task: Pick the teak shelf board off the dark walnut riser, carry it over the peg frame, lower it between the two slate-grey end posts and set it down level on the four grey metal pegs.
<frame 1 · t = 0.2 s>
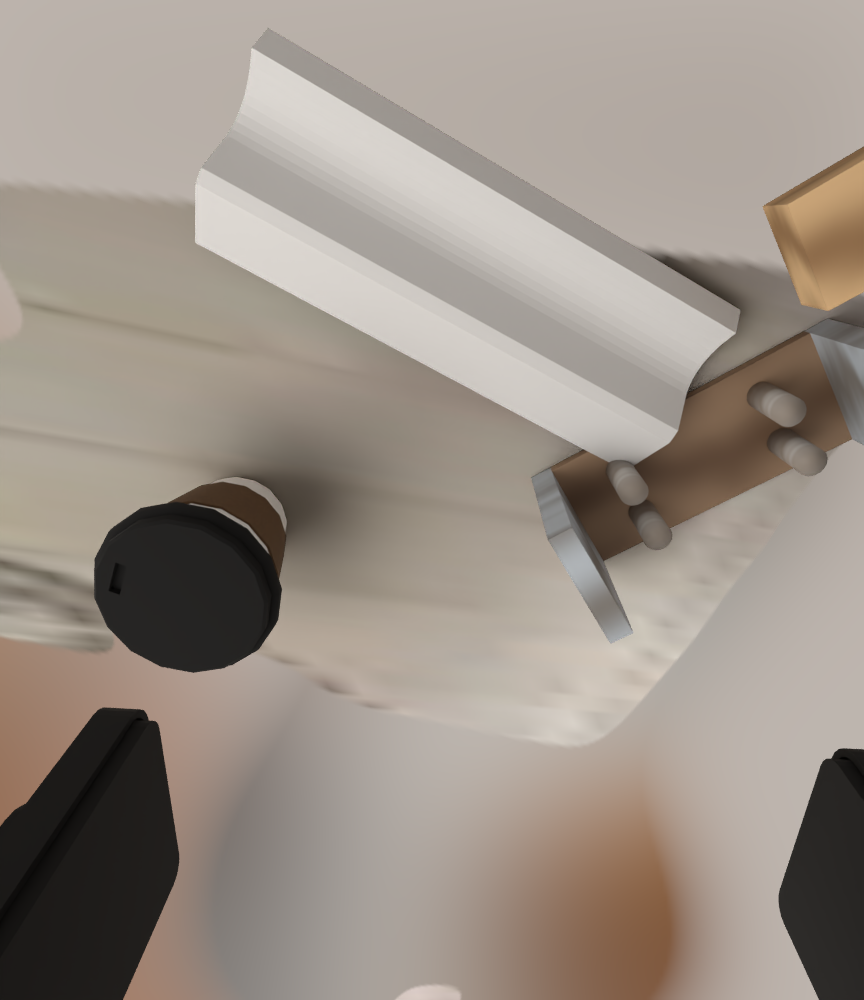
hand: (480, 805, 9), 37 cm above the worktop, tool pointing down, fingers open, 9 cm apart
crown molding: (467, 275, 41), on the worktop, touching peg frame
coffee cup: (244, 514, 49), on the worktop
peg frame: (695, 451, 45), on the worktop
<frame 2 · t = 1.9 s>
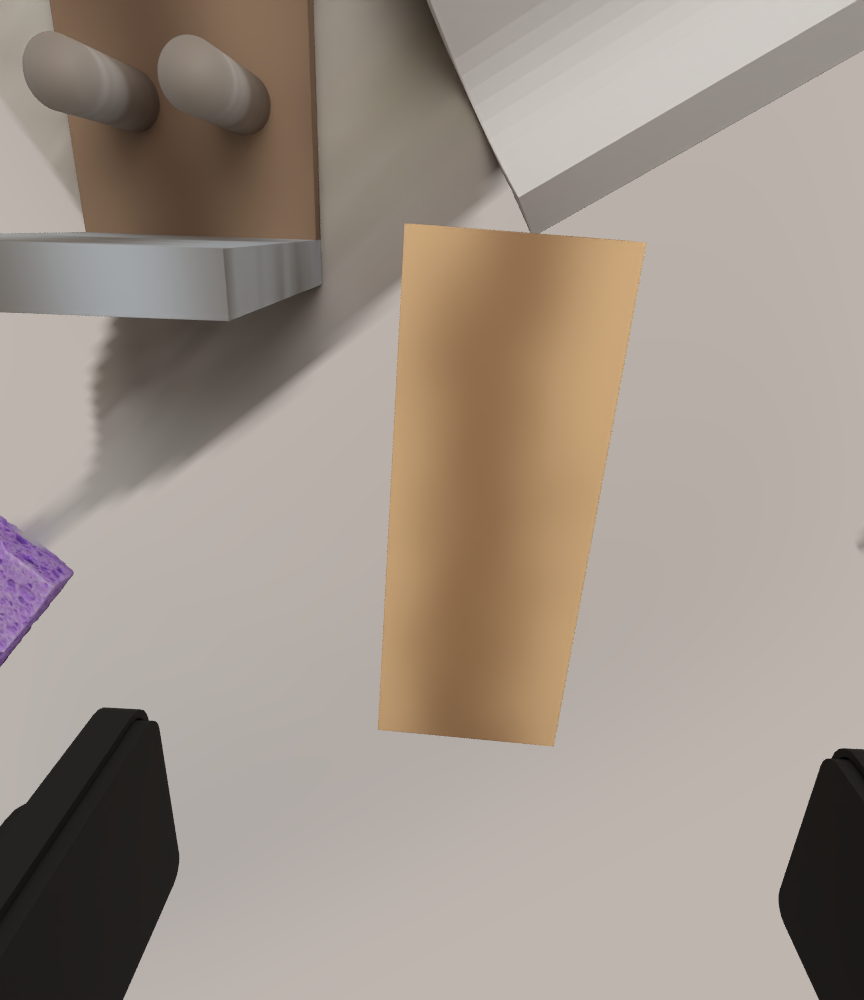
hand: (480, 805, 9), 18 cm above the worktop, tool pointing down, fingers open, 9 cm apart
shelf board: (488, 488, 22), point 4 cm above the worktop, touching riser
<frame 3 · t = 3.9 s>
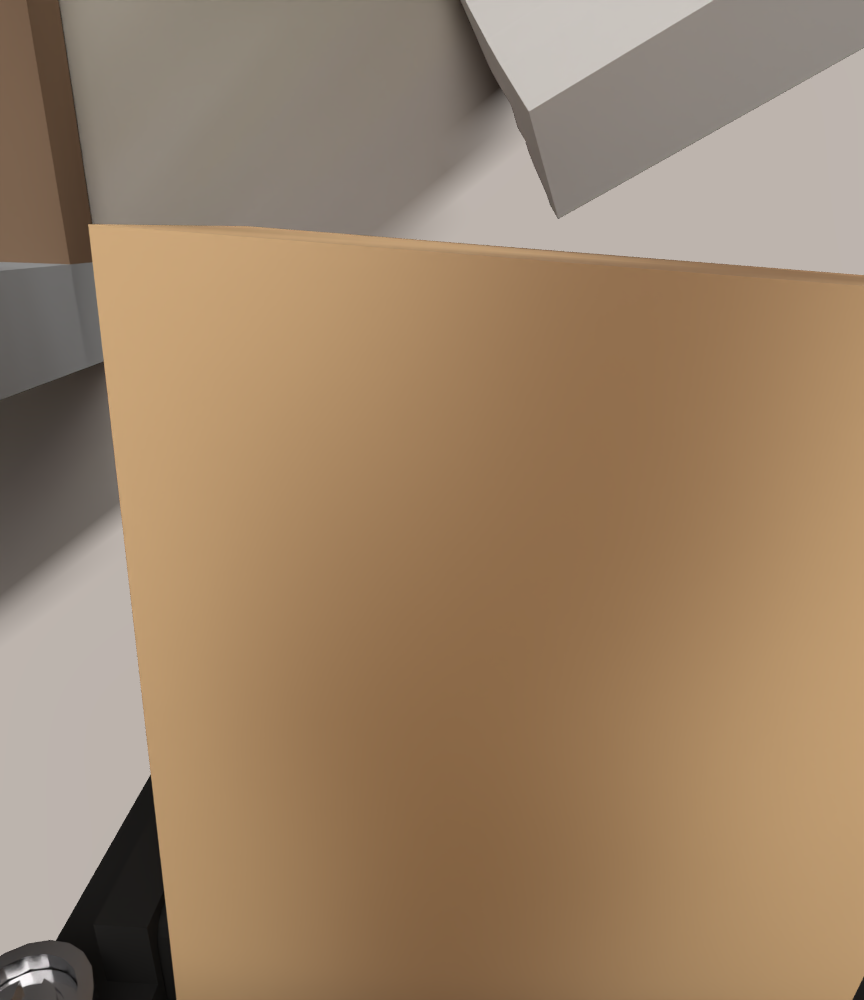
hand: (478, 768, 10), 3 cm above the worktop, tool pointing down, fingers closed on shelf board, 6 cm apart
shelf board: (476, 851, 9), point 4 cm above the worktop, touching gripper, riser
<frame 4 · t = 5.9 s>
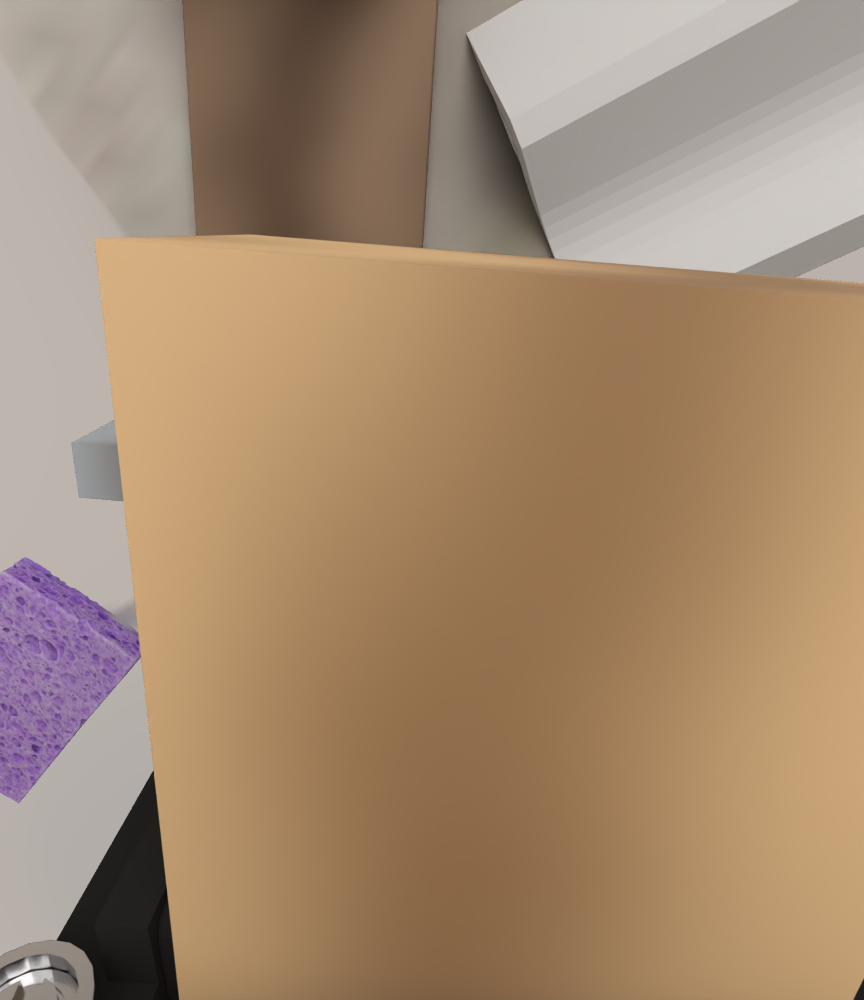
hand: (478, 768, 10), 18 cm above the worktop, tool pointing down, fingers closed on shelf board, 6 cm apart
sponges: (34, 673, 33), on the worktop
shelf board: (477, 854, 9), point 19 cm above the worktop, touching gripper
peg frame: (313, 112, 23), on the worktop
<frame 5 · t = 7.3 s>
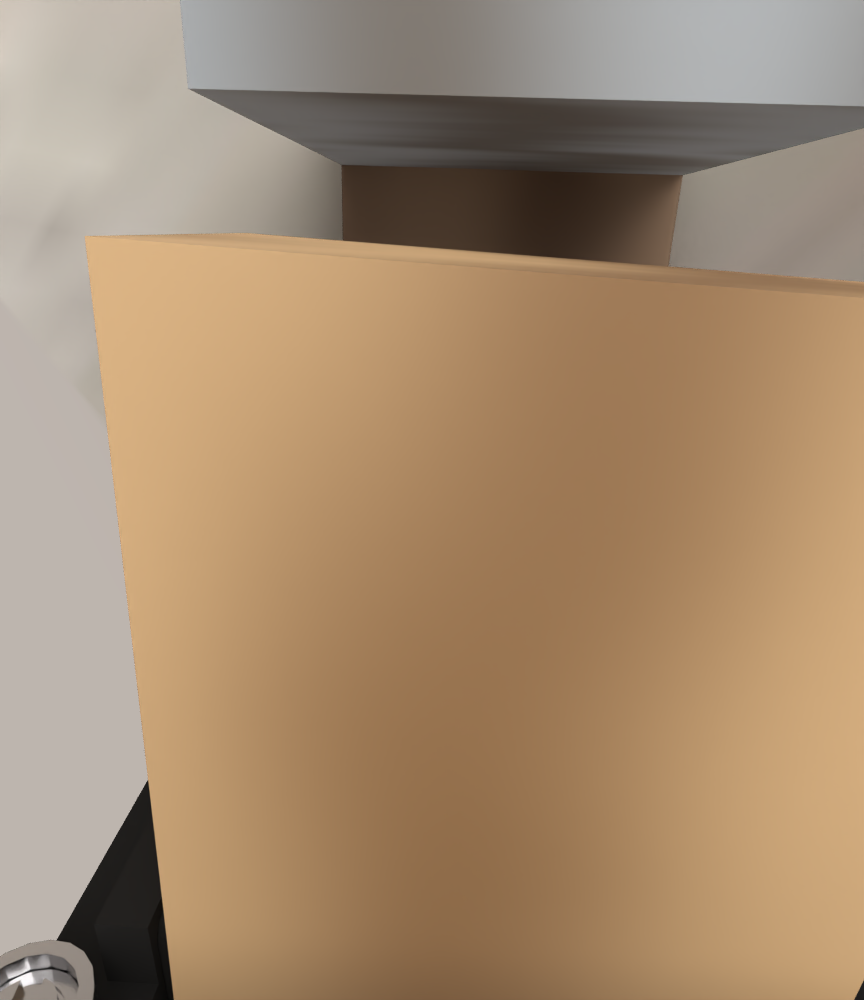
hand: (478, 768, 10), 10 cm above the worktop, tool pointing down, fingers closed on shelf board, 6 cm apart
shelf board: (475, 856, 9), point 11 cm above the worktop, touching gripper
peg frame: (485, 508, 20), on the worktop
when the fingers open (5 cm above the worktop, at t = 8.7 s): shelf board stays where it is, resting on peg frame.
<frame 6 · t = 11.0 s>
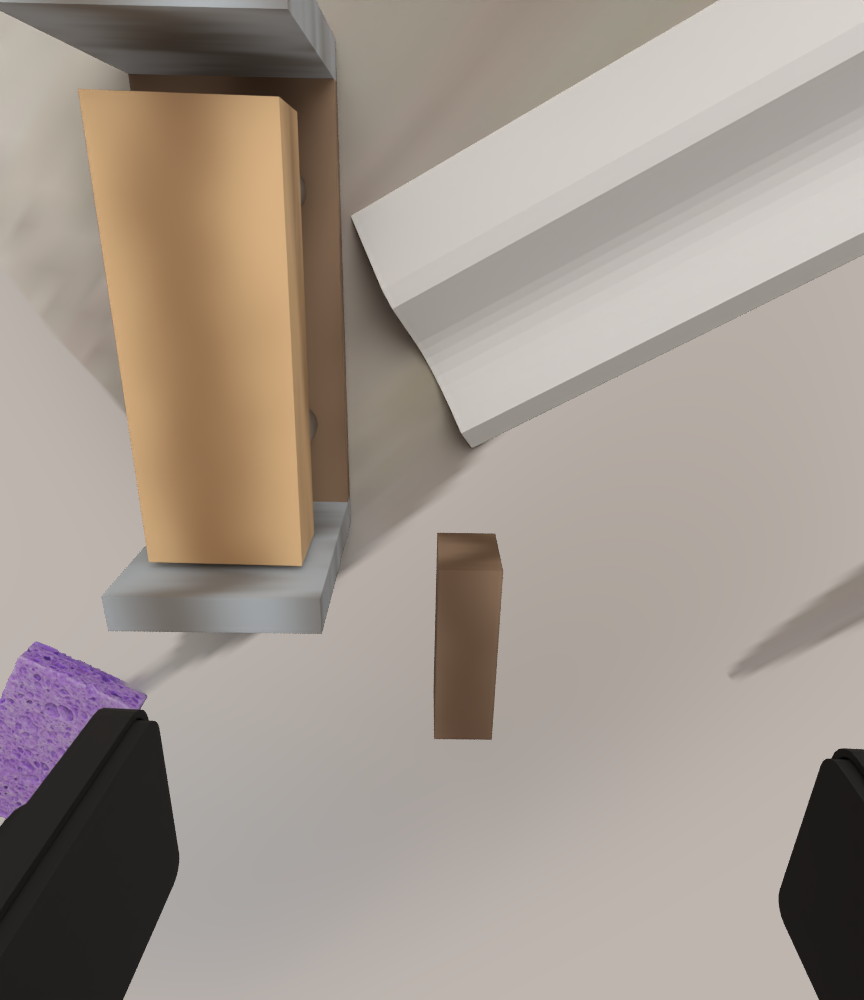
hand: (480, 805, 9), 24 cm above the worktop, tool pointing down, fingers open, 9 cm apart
sponges: (57, 733, 40), on the worktop
shelf board: (229, 345, 26), point 5 cm above the worktop, touching peg frame
crown molding: (732, 160, 29), on the worktop
riser: (462, 615, 36), on the worktop
peg frame: (255, 311, 30), on the worktop
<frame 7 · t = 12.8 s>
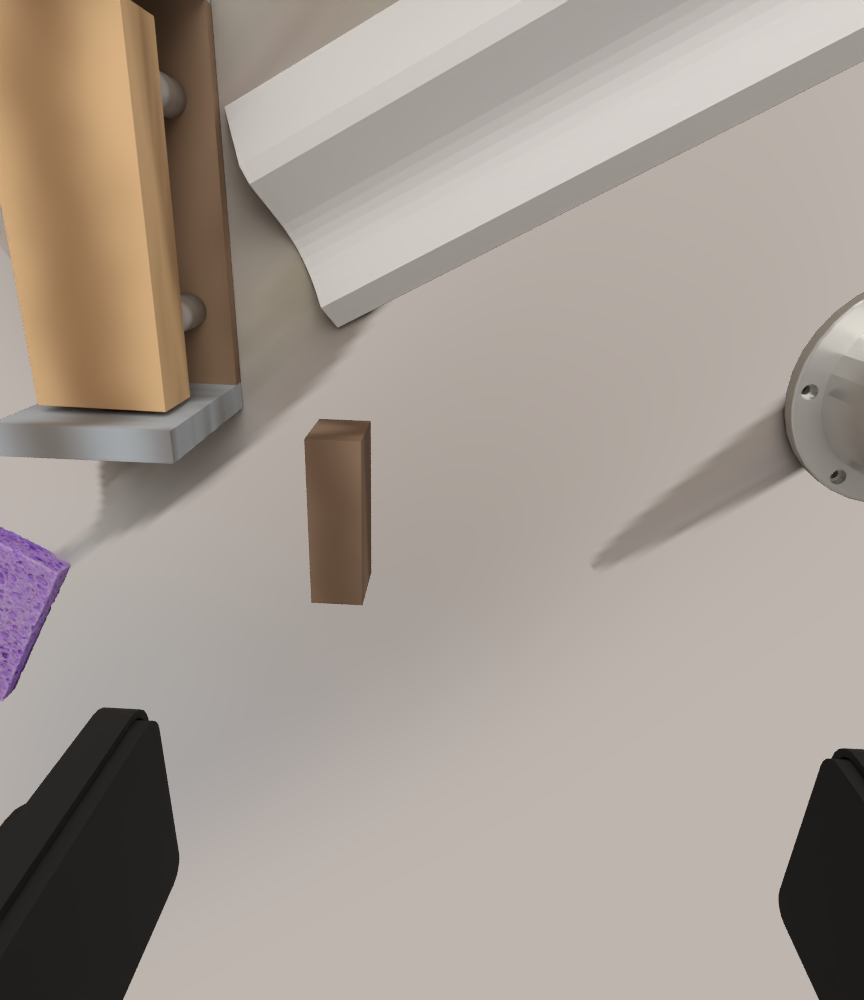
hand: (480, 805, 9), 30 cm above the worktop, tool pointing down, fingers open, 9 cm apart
shelf board: (109, 222, 31), point 5 cm above the worktop, touching peg frame
crown molding: (559, 68, 32), on the worktop
riser: (346, 499, 41), on the worktop
peg frame: (152, 209, 35), on the worktop
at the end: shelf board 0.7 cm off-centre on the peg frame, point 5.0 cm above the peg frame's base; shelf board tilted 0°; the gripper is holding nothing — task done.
